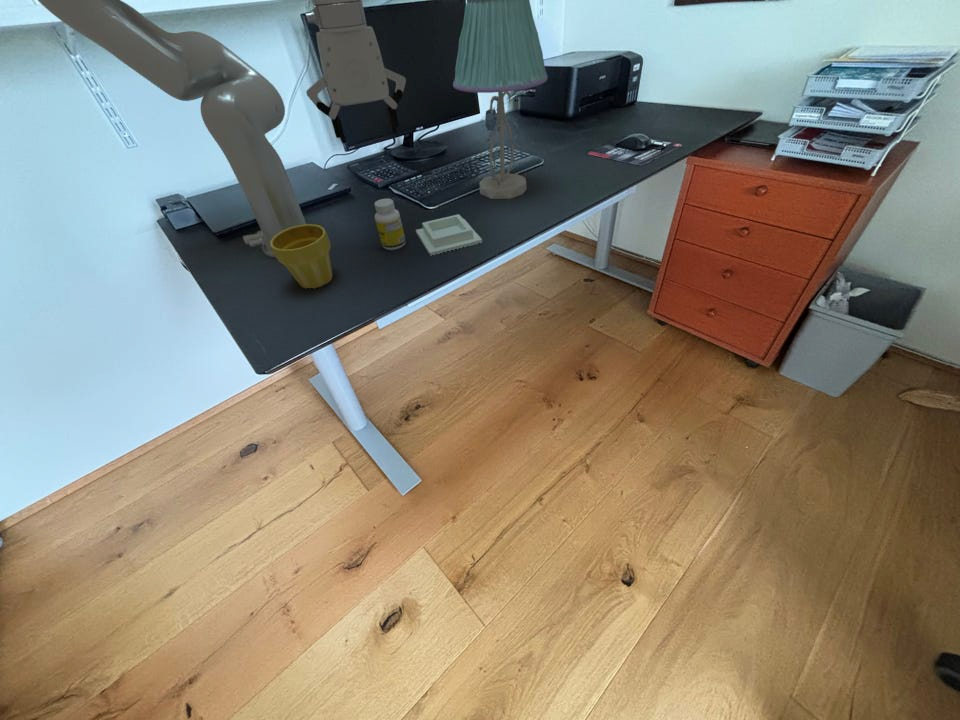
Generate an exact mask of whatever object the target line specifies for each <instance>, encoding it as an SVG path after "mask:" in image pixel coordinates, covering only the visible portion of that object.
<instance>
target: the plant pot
mask: <svg viewBox="0 0 960 720" xmlns="http://www.w3.org/2000/svg"><path fill="white" fill-rule="evenodd" d="M270 246H271V248H272V250H273V252H274V254H275V256H276V258H275V259H277V261H278V262H279V263H280V264H282V265H284V266H285V267H286V269H287V270H288V271H289V273H290V274H291V275H292V276H293V277H294V279H295V281H297V283H298V284H299V286H300V287H301V288H304V289H307V288H309V290H311V289H310V288H313V289H317V287H318V288H321V287H324V286H325V284H326V285H327V284H328V283H330V282H331V281H332V279H333V275H334V274H333V268H332V263H331V262H332V261H331V256H330V250H331V247H332V246H331V242H330V238H329V236H328V233H327V231H326V229H325V228H324V227H323V226H321V225H319V224H315V223H314V224H312V223H306V224H304V225H298V226H294V227H291V228H288V229H285V230H283V231H281V232H279V233H278V234H276V235H275V236H274V237H273V238H272V239H271V241H270ZM323 285H324V286H323Z"/></svg>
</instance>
